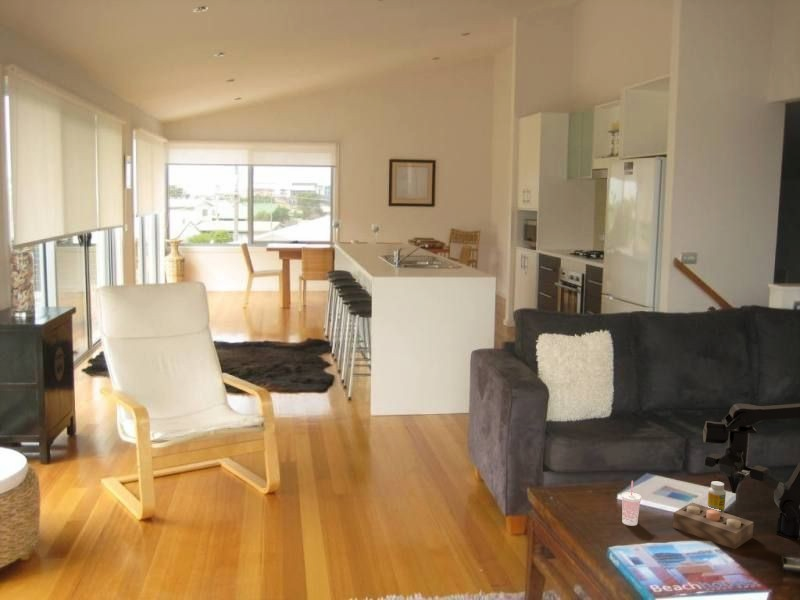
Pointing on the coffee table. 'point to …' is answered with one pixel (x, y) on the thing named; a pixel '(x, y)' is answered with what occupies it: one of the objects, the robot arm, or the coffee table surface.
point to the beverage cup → (630, 507)
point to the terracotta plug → (713, 515)
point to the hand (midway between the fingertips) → (734, 492)
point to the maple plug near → (733, 523)
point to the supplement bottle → (717, 496)
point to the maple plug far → (693, 510)
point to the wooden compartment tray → (713, 526)
